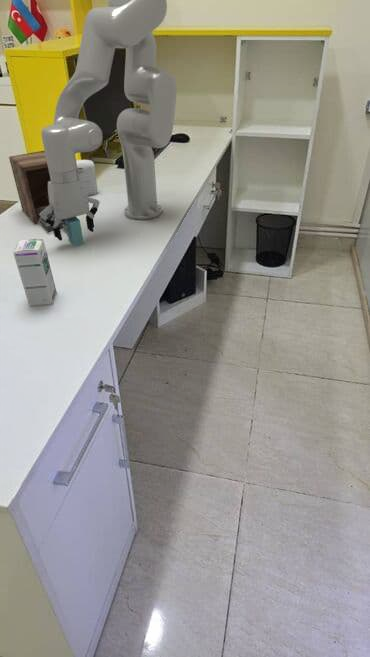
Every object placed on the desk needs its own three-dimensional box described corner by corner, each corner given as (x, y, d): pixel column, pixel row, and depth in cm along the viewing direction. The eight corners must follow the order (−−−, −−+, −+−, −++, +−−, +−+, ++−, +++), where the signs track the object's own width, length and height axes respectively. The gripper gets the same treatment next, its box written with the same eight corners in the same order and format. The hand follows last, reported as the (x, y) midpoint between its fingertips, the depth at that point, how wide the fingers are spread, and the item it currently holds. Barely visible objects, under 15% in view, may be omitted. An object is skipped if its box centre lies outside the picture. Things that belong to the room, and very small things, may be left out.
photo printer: (95, 190, 168) (90, 156, 160) (100, 193, 165) (95, 159, 157) (69, 196, 163) (62, 161, 156) (73, 200, 160) (67, 164, 153)
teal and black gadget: (94, 239, 133) (91, 217, 128) (62, 248, 128) (58, 225, 124) (69, 216, 147) (65, 195, 143) (40, 223, 143) (35, 202, 139)
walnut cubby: (72, 215, 149) (61, 160, 138) (34, 224, 144) (21, 167, 133) (58, 202, 158) (47, 150, 148) (22, 210, 153) (8, 156, 142)
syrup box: (53, 304, 106) (39, 249, 97) (28, 306, 106) (12, 251, 97) (56, 291, 111) (44, 238, 102) (32, 293, 110) (18, 239, 102)
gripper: (89, 166, 126) (97, 223, 137) (28, 178, 119) (42, 237, 129) (99, 173, 121) (107, 231, 131) (36, 186, 114) (50, 247, 124)
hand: (75, 234), depth 130 cm, fingers open, 9 cm apart
